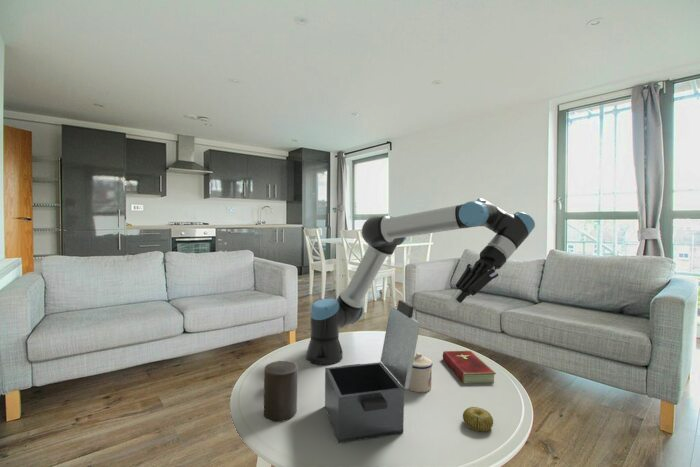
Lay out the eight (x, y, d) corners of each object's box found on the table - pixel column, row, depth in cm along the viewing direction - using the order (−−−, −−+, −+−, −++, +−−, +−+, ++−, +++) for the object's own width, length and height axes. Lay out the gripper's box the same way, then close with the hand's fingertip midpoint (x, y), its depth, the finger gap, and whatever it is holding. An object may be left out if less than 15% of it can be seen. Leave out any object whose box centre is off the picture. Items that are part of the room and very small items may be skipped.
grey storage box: (323, 401, 107) (323, 363, 107) (376, 394, 112) (377, 358, 112) (341, 451, 84) (341, 403, 84) (408, 439, 89) (408, 394, 88)
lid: (392, 296, 109) (395, 296, 109) (380, 361, 109) (383, 361, 109) (418, 311, 91) (422, 311, 92) (404, 388, 91) (408, 388, 91)
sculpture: (469, 420, 91) (459, 404, 99) (468, 434, 92) (458, 417, 100) (498, 420, 92) (486, 404, 100) (498, 434, 92) (485, 417, 100)
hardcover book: (462, 384, 120) (463, 373, 120) (442, 360, 141) (442, 350, 141) (495, 383, 121) (495, 372, 121) (470, 359, 142) (470, 349, 142)
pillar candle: (268, 425, 94) (269, 372, 94) (260, 408, 103) (261, 359, 102) (301, 417, 99) (302, 366, 98) (291, 401, 107) (292, 354, 107)
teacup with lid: (435, 393, 113) (435, 358, 113) (407, 393, 113) (408, 358, 113) (426, 376, 125) (427, 345, 125) (401, 376, 125) (402, 345, 125)
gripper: (518, 263, 102) (469, 322, 98) (490, 258, 114) (444, 310, 111) (504, 245, 100) (453, 305, 96) (476, 243, 113) (430, 295, 109)
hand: (448, 308), depth 104 cm, fingers closed
